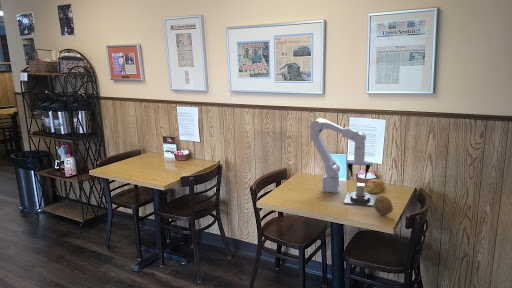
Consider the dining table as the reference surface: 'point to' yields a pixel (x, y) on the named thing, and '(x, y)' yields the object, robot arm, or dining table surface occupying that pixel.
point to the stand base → (360, 199)
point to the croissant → (374, 186)
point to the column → (360, 189)
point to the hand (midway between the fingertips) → (358, 177)
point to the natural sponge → (383, 205)
